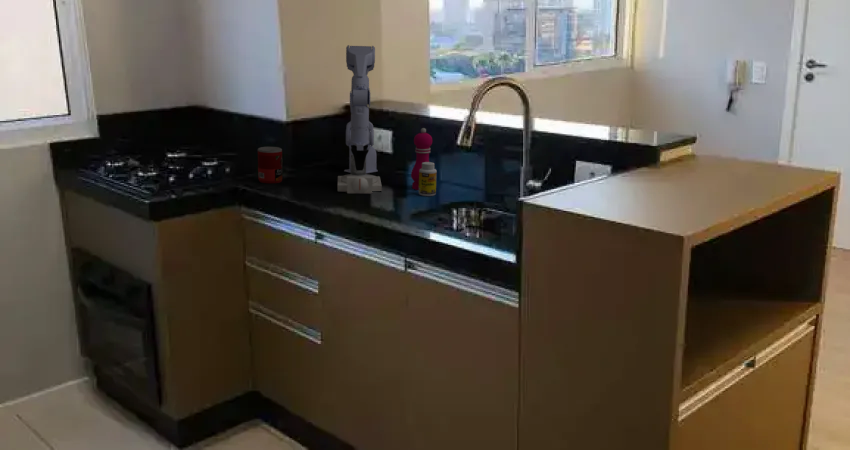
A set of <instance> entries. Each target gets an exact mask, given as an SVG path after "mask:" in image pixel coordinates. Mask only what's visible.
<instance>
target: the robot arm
mask: <svg viewBox="0 0 850 450" xmlns="http://www.w3.org/2000/svg"><path fill="white" fill-rule="evenodd" d="M345 53H346V54H345V58H346V59H345V62H346V67H347V70H349V71H350V72H351V73H353V75H352V77H351V85H350V87H351V88H350V91H349V107H350V121H349V122H347V123H346V126H345V127H346V129H345V145H346V146H347V147H348V149H349V159H348V160H349V161H348V163H349V165H348V166H349V167H348V169H344V170H343V172H346V173H350V174H351V155H353V156H354V160H355V166H356V170H363V168H364V162H365V158H366V174H370V173H376V172H378V169H377V151H376V148H375V147H374V142H375V140H374V139H375V136H374V135H375V130H374V125H373V123H372V122H371V121H370V119H369V118H370V116H369V115H370V107H371V90H370V77H369V76H368V74H369V73H370V72H372V71H374V68H375V62H376V47H375V46H374V45H371V46H370V45H349V44H348V45H347V46H346V48H345Z"/></svg>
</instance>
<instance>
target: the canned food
mask: <svg viewBox="0 0 850 450" xmlns="http://www.w3.org/2000/svg"><path fill="white" fill-rule="evenodd" d="M257 172H258V174H257V175H258V176H257V177H258V181H259V182H260V183H262V184H268V185H269V184H270V185H271V184H279V183H281V182H282V181H283V149H282V148H281V147H279V146H261V147H258V148H257Z"/></svg>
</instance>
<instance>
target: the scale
mask: <svg viewBox="0 0 850 450" xmlns="http://www.w3.org/2000/svg"><path fill="white" fill-rule="evenodd" d="M382 189H383V187H382V182H381V176H379V175H378V176H376V175H374V174H369V173H366V174H365V175H359V176H358V175H352V174H351V173H350V174H345V175H338V176H337V192H345V193H347V194H373V192H372V191H382Z"/></svg>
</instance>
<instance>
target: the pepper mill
mask: <svg viewBox="0 0 850 450" xmlns="http://www.w3.org/2000/svg"><path fill="white" fill-rule="evenodd" d="M413 143H414V145H415V150H414V153H416V160H415V162H414V165H413V168H412V169H411V172H410V174H411V175H410V178H411V179H412V180H413V182H412V183H411V184H412V187H411V188H412V189H413V190H414V189H415V191H419V170H420V169H421V168H422V163H423V162H430V154H431V146H432V144H433V137H432V135H430V134H429V133H427V128H425V127H422V128H421V129H420V132H419V133H417V134H416V135H415V136H414V138H413Z"/></svg>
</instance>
